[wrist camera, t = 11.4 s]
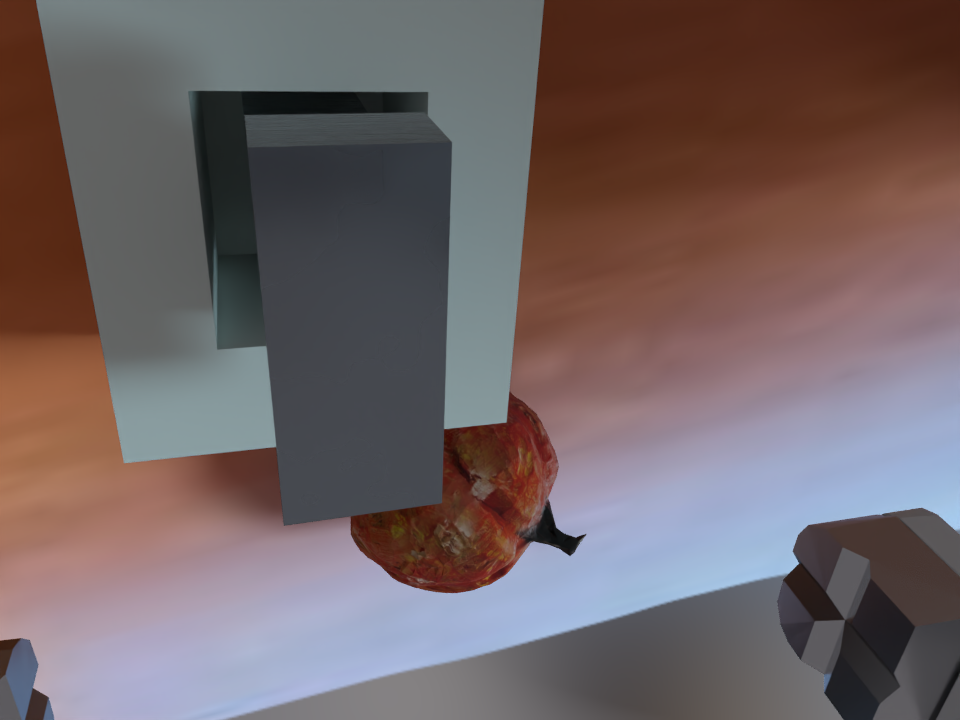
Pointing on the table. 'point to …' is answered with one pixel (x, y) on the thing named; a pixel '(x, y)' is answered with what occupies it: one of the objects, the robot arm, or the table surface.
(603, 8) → the table surface
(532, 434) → the pomegranate
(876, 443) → the table surface
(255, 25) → the well block
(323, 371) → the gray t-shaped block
